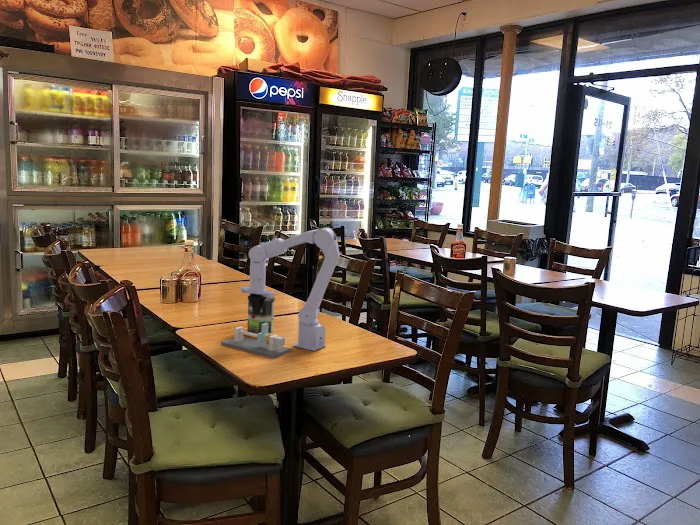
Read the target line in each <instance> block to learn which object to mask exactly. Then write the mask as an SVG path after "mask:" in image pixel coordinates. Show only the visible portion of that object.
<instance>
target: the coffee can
mask: <svg viewBox="0 0 700 525" xmlns="http://www.w3.org/2000/svg"><path fill="white" fill-rule="evenodd" d="M247 300H248V302H247V303H248V304H247V331H246V332H250V333H254V334H258V333H261V325H262V324H264V323H269V324H268V333H271V334H274V321H275V320H274V318H275V300H276V298H275V297H274V298H269V297H266V299H265V301H264V303H263V305H262V307H261V311H260V314H258V315H254V314H253V310H252V306H251V303H250V301H249V299H248V298H247Z"/></svg>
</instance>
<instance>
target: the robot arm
mask: <svg viewBox="0 0 700 525" xmlns="http://www.w3.org/2000/svg"><path fill="white" fill-rule="evenodd" d="M305 243H309V244H311V245H313V244H315V245H316V246H317V247H318V248H319V249H320V250H321V252H322V253H323V255H324V259H323V262H322V264H321V267H320V269H319V272H318V274H317V277H316V279H315V281H314V284H313V286H312V288H311V291H310V293H309V295H308V297H307V300H306V301H305V304H304V305H303V307H302V308H301V309H300V310H299V312H298V320H299V321H298V337H297V342H296V343H293V345H292V346H293V347H297V348H301V349H303V350H304V349H305V350H309V351H313V352H315V351H317V350H319V349H322V348H324V347H326V346H327V345H326V328H325V326H324V325H322V324H320V323H319V321H320V320H319V319H318V316H319V314H320V312H321V310H320V306H321V303H322V300H323V298H324V295H325V293H326V289H327V288H328V285H329V282H330V280H331V279H332V275H333V273H334V270H335V268H336V266H337V264H338V261H339V259H340V256H341V255H340V248H339V243H338V237H337V234H336V233H335V231H334V230H333V229H332V228H330V227H327V226H326V227H322V228H318V229H317V228H316V229H312V230H308V231H305V232H302V233H299V234H297V235H294V236H291V237H289V238H286V239H284V238H283V239H282V238H281V237H278V238H277V237H274V238H272V239H271V240H269V241H266V242H260V244H258V245H255V246H253V247H251V248H250V250H249V251H248V258H249V260H250V264H249V286H241V287H239V290H240V294H241V293H242V294H244V293H245V294H249V295H247V300H248V299H249V301H250V303H251V306H252V310H253V314H254V315H258V314H260V311H261V307H262V305H263V303H264V301H265V299H266V297H269V298H275V295H276V294H275V293H276V292H274V291H270V290H268V289H266V277H267V276H266V271H267V265H266V264H267V263H266V262H267V259H271V258H274V257H277V256H279V255H282V254H285V253H286V251H287V249H288V248H292V247H295V246H298V245H301V244H305Z"/></svg>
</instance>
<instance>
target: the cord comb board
mask: <svg viewBox="0 0 700 525" xmlns="http://www.w3.org/2000/svg"><path fill="white" fill-rule="evenodd" d="M244 329H245V328H244V326H241V325H240V326H237V327H234V329H233V333H234V334H233V335H234V336H233V337H232V338H230V339H225V340H222V341H220V345H221V344H222V346H225V345H226V347H229V346H230V348H232V347H233V348H232V349H236V348H237V349H236V350H240V349H241V351H244V350H245V351H244V352H248V353H252V354H255V355H260V356H263V357H266V358H270V357H271V359H276V358H278V357H280V355H281V356H282V355H286V354H288V353H290V352H292V348H290V347H286V346H285V343H286V337H285V336H284V337H283V336H279V335H278V334H274V333H273V334H271V333H269V334H268V335H267V337H266V343H267V344H264V343H260V342H257V336H258V334H254V333H250V332H247V331H245V330H244ZM244 335H245V336H248V337H245V336H244ZM251 337H253V338H251ZM254 338H256V339H254Z"/></svg>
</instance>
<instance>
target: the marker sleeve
mask: <svg viewBox="0 0 700 525" xmlns="http://www.w3.org/2000/svg"><path fill="white" fill-rule="evenodd" d="M268 324H269V323H264V324H262V325H261V333H258V336H257V338H256V340H257V342H260V343H264V344H267V343H266V337H267V335H268V334H269V333H268Z"/></svg>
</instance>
